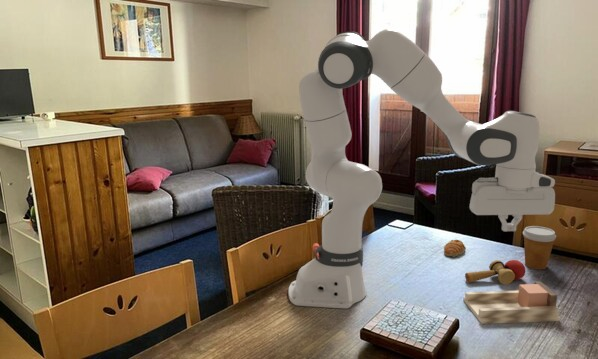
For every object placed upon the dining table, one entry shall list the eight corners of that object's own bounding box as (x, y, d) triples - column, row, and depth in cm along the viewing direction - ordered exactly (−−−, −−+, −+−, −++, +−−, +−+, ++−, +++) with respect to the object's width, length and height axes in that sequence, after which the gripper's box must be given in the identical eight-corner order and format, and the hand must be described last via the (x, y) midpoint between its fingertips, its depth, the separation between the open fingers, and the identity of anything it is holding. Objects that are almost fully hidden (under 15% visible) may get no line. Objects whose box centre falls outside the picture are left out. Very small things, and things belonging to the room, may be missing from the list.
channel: (481, 323, 115) (483, 302, 114) (463, 300, 127) (464, 280, 125) (559, 320, 116) (562, 299, 114) (534, 298, 127) (536, 278, 126)
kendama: (475, 293, 133) (533, 281, 135) (472, 272, 133) (530, 260, 135) (463, 285, 141) (517, 274, 143) (460, 266, 141) (515, 254, 142)
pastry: (459, 259, 154) (460, 249, 153) (439, 256, 158) (439, 245, 157) (466, 250, 162) (467, 240, 161) (447, 247, 165) (447, 237, 164)
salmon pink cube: (527, 311, 119) (529, 293, 117) (517, 301, 123) (519, 284, 122) (546, 310, 119) (548, 292, 118) (535, 300, 124) (537, 283, 122)
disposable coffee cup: (558, 266, 147) (562, 231, 144) (542, 274, 142) (546, 237, 139) (529, 257, 154) (533, 223, 152) (513, 264, 149) (516, 229, 147)
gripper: (478, 180, 109) (473, 235, 113) (561, 180, 110) (554, 234, 113) (468, 175, 116) (463, 227, 119) (546, 174, 117) (540, 226, 120)
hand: (508, 230), depth 116 cm, fingers closed
